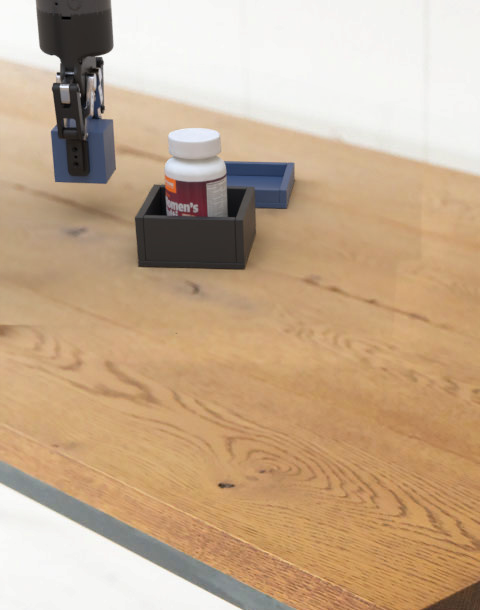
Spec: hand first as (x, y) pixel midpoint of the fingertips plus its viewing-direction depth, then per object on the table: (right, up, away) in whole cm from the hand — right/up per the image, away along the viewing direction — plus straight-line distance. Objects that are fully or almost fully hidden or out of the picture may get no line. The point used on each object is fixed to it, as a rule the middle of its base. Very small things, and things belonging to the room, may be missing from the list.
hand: (85, 166), depth 145 cm
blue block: (0, -1, +1) cm, 1 cm away
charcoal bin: (+13, -10, -7) cm, 18 cm away
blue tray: (+15, -1, +10) cm, 18 cm away
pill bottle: (+13, -10, -7) cm, 18 cm away
